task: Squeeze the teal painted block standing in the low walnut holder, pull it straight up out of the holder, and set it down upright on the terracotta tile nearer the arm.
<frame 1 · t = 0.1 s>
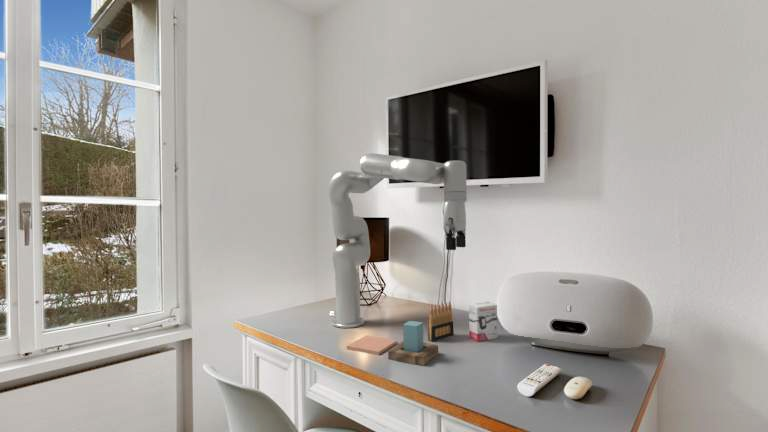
hand: (456, 248, 135), 31 cm above the table, fingers open, 9 cm apart
tile: (372, 346, 131), on the table
holder: (413, 356, 121), on the table
ammunition clip: (441, 338, 138), on the table
ink box: (483, 338, 137), on the table
teal block: (413, 339, 121), in the holder
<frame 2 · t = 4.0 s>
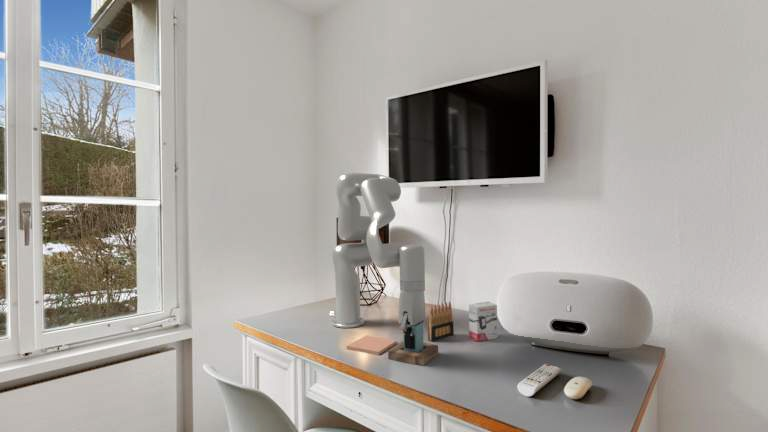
hand: (413, 345, 121), 3 cm above the table, fingers closed on teal block, 4 cm apart
teal block: (413, 339, 121), in the holder, touching gripper
everything else where it was.
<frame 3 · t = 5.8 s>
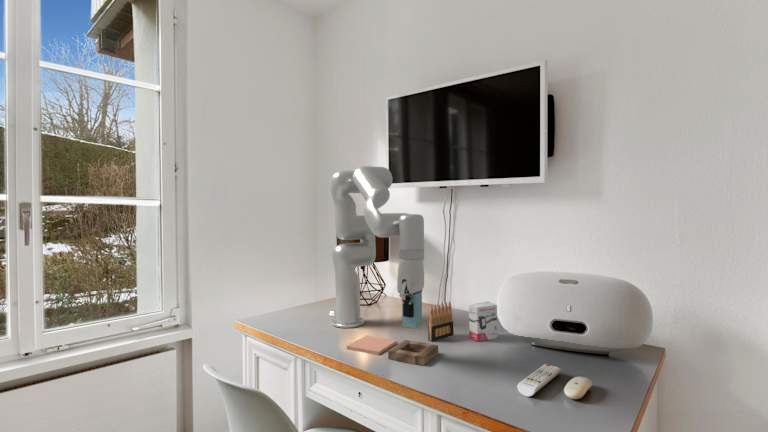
hand: (412, 314, 121), 13 cm above the table, fingers closed on teal block, 4 cm apart
teal block: (412, 308, 121), point 14 cm above the table, touching gripper
everything else where it was.
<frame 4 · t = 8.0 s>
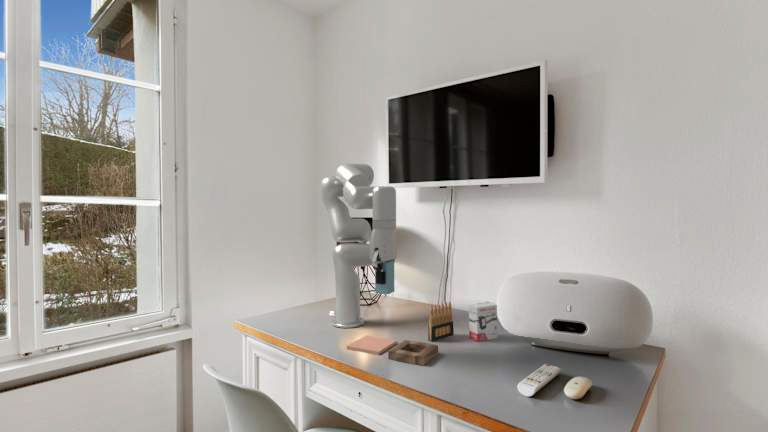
hand: (384, 281, 128), 22 cm above the table, fingers closed on teal block, 4 cm apart
teal block: (384, 276, 127), point 23 cm above the table, touching gripper
everything else where it was.
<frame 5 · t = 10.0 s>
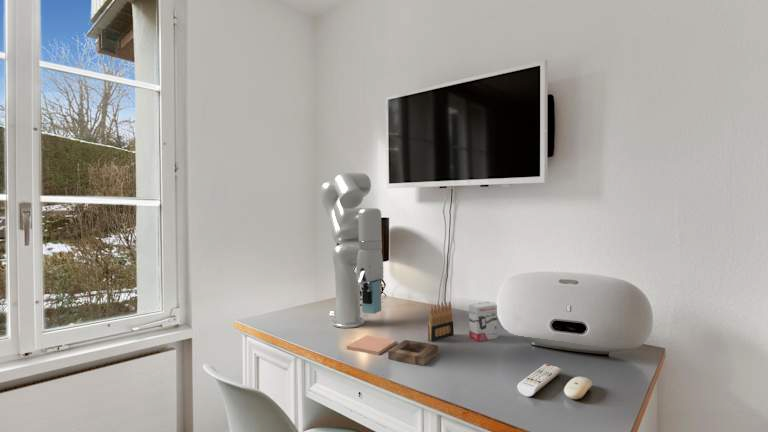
hand: (371, 301, 130), 15 cm above the table, fingers closed on teal block, 4 cm apart
teal block: (371, 296, 130), point 16 cm above the table, touching gripper
everything else where it was.
when the fingers open (6 cm above the table, at t = 12.0 s): teal block drops 1 cm, resting on tile.
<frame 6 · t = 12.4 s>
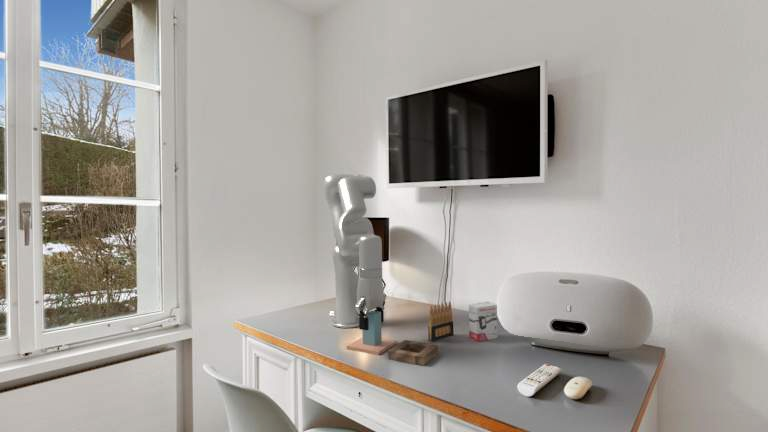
hand: (371, 325, 131), 7 cm above the table, fingers open, 9 cm apart
teal block: (371, 327, 131), on the tile, point 6 cm above the table
everything else where it was.
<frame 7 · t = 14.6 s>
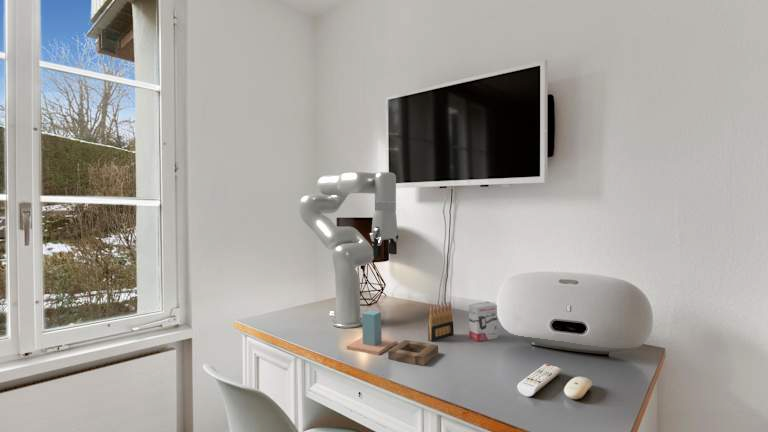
hand: (385, 255, 142), 28 cm above the table, fingers open, 9 cm apart
nothing on the table moved.
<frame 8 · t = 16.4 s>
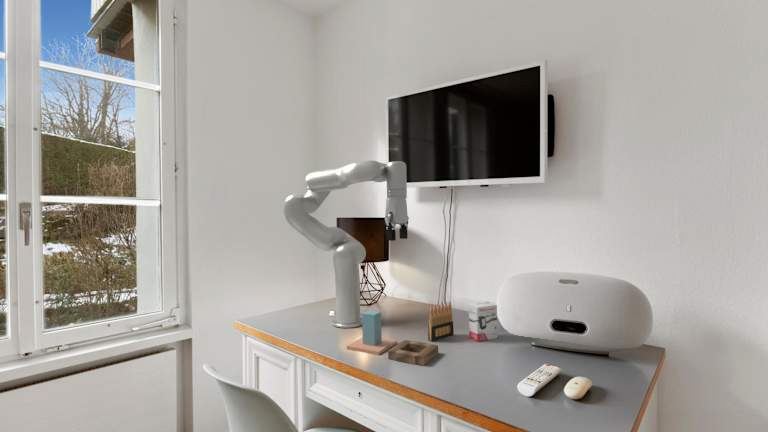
hand: (397, 239, 151), 33 cm above the table, fingers open, 9 cm apart
nothing on the table moved.
at the end: teal block inside the target area on the tile (0.1 cm from its centre), point 6.0 cm above the tile's base; teal block tilted 0°; the gripper is holding nothing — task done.
